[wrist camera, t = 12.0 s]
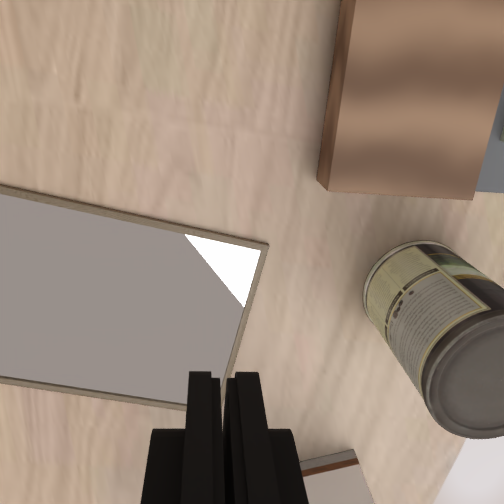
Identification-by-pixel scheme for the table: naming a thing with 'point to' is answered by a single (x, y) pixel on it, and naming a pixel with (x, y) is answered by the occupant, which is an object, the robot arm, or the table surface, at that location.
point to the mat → (494, 156)
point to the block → (502, 136)
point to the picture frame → (118, 300)
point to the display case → (335, 480)
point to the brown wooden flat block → (412, 97)
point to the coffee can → (443, 333)
